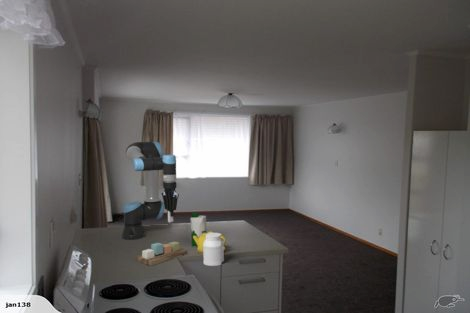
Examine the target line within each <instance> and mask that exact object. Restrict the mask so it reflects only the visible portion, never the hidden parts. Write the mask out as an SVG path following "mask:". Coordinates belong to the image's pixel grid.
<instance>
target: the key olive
mask: <svg viewBox="0 0 470 313" xmlns="http://www.w3.org/2000/svg"><path fill="white" fill-rule="evenodd" d="M167 244H169V245H172V251H175V250H178V249H180V248H181V247H180V246H181V245H180V242H178V241H172V242H171V241H170V242H168V243H167Z"/></svg>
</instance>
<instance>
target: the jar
mask: <svg viewBox="0 0 470 313" xmlns="http://www.w3.org/2000/svg"><path fill="white" fill-rule="evenodd" d="M207 233H208V232H207ZM221 234H222V233H221V232H220V233H219V232H213V233H208V234H206V239H205V241H204V243H203V254H202V255H203V263H202V264H203V265H205V266H208V267H209V266H210V267H211V266H212V267H216V266H217V267H218V266H221V265H222V263H224V261H225V254H224V253H225V252H224V251H225V250H224V247H225V244H224V242H223V241H222V239H221Z"/></svg>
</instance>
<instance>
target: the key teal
mask: <svg viewBox="0 0 470 313" xmlns="http://www.w3.org/2000/svg"><path fill="white" fill-rule="evenodd" d="M163 245H164V243H160V242H155V243H152V244H150V249H151V250H154V254H155V255H158V254H161V253H163Z"/></svg>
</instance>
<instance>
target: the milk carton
mask: <svg viewBox="0 0 470 313" xmlns="http://www.w3.org/2000/svg"><path fill="white" fill-rule="evenodd" d="M204 233H207V215H199V212H193V213H191V217H190V234H191V236H190V237H191V247H192V246H198V245H197V244H196V242H195V240H194V238H193V236H197V237H198V238H199V236H201V235H202V234H204Z"/></svg>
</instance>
